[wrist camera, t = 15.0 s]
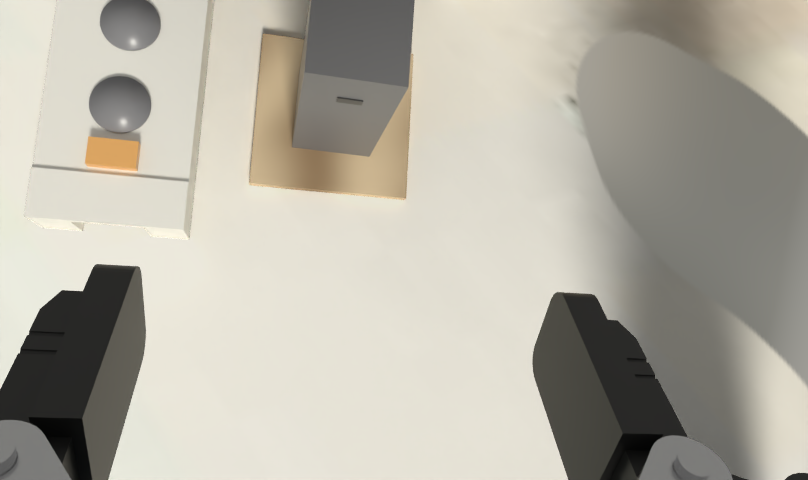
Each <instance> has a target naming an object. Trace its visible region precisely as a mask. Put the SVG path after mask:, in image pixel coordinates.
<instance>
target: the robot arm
mask: <svg viewBox="0 0 808 480" xmlns="http://www.w3.org/2000/svg"><path fill="white" fill-rule="evenodd" d="M145 338H146V327H145V314H144V302H143V289H142V277H141V271H140V268H139V267H137V266H120V265H102V264H96V265H95V266H94V267H93V269H92V271H91V274H90V276H89V278H88V281H87V283H86V285H85V288H84V290H83V291H65V290H62V291H61V292H60V293H58V294H57V295H56V296H55V297H54V298H53V299H51V300H50V301H49V302H48V303H47V304H45V305H44V306H43V307H42V308H41V309H40V310H39V312H38V314H37V316H36V319H35V321H34V323H33V325H32V327H31V329H30V331H29V335H27V337H26V339H25V341H24V343H23V345H22V347H21V351H20V354H18V355H17V357H16V359H15V361H14V363H13V365H12V367H11V369H10V371H9V373H8V375H7V377H6V379H5V381H4V383H3V385H2V387H1V389H0V480H108V478H109V475H110V471H111V468H112V464H113V461H114V457H115V454H116V450H117V447H118V443H119V440H120V436H121V433H122V430H123V426H124V423H125V419H126V416H127V412H128V409H129V405H130V402H131V398H132V395H133V391H134V388H135V385H136V381H137V378H138V374H139V371H140V367H141V364H142V360H143V355H144V349H145ZM533 373H534V377H535V381H536V384H537V387H538V390H539V393H540V396H541V399H542V402H543V405H544V408H545V411H546V414H547V417H548V420H549V423H550V426H551V429H552V432H553V435H554V438H555V441H556V444H557V447H558V450H559V453H560V456H561V459H562V462H563V465H564V468H565V471H566V474H567V477H568V480H747V479H744V478H740V477H737V476H735V475H732V474H731V473H730V471H729V469H728V467H727V466H726V464H725V463H724V461H723V460H722V459H721V458H720V457H719V456H718V455H717V454H716V453H715V452H714V451H712V450H711V449H710V448H708V447H707V446H705V445H704V444H702V443H700V442H698V441H696V440H693V439H691V438H688V437H687V435H686V433H685V431H684V429H683V427H682V425H681V424H680V422H679V420H678V418H677V416H676V414H675V412H674V410H673V408H672V406H671V404H670V402H669V401H668V399H667V397H666V395H665V393H664V391H663V389H662V387H661V385H660V383H659V381H658V380H657V379H655V374H654V372H653V370H652V368H651V366H650V364H649V363H647V362H646V357H645V355H644V353H643V351H642V349H641V347H640V345H639V343H638V341H637V339H636V338H635V337H634V336H633V335H632V334H631V333H630V332H629V331H628V330H627V329H626V328H625V327H623V326H622V325H621V324H620V323H619V322H618V321H616V320H607V318H606V316H605V314H604V312H603V310H602V307H601V305H600V303H599V301H598V299H597V298H596V297H595V296H594V295H592V294H579V293H562V292H557V293H555V294H554V295H553V297H552V299H551V301H550V304H549V307H548V310H547V313H546V316H545V318H544V321H543V324H542V327H541V330H540V333H539V335H538V338H537V341H536V344H535V347H534V352H533ZM785 480H808V474H807V473H797V474H792V475H790V476H788V477H787V478H786V479H785Z"/></svg>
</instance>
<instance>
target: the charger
mask: <svg viewBox="0 0 808 480" xmlns="http://www.w3.org/2000/svg"><path fill="white" fill-rule="evenodd" d="M413 14H414V0H310V3H309V10H308V17H307V23H306V30H305V37H304V44H303V50H302V57H301V64H300V71H299V79H298V90H297V100H296V110H295V120H294V131H293V141H292V147H294V148H302V149H310V150H318V151H326V152H334V153H343V154H351V155H359V156H367V157H369V156H370V155H371V153H372V151H373V149H374V148H375V146H376V144H377V142H378V140H379V139H380V137H381V135H382V133H383V132H384V130H385V128H386V126H387V125H388V123H389V121H390V119H391V117H392V116H393V114H394V112H395V110H396V109H397V107H398V105H399V103H400V102H401V100H402V98H403V96H404V94H405V93H406V91H407V89H408V87H409V73H410V58H411V44H412V29H413Z"/></svg>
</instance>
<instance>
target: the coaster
mask: <svg viewBox="0 0 808 480" xmlns="http://www.w3.org/2000/svg"><path fill="white" fill-rule="evenodd" d="M303 44H304V39H300V38H292V37H285V36H278V35H270V34H263V38H262V49H261V60H260V71H259V82H258V94H257V105H256V116H255V127H254V138H253V149H252V160H251V171H250V183H249V184H250V185H254V186H265V187H275V188H286V189H296V190H307V191H317V192H328V193H338V194H349V195H359V196H370V197H380V198H391V199H401V200H405V199H406V189H407V169H408V149H409V129H410V109H411V89H412V69H413V54H411V58H410V73H409V87H408V89H407V91H406V93H405V94H404V96H403V98H402V100H401V102H400V103H399V105H398V107H397V109H396V110H395V112H394V114H393V116H392V117H391V119H390V121H389V123H388V125H387V126H386V128H385V130H384V132H383V133H382V135H381V137H380V139H379V140H378V142H377V144H376V146H375V148H374V149H373V151H372V153H371V155H370V156H369V157H367V156H359V155H351V154H343V153H334V152H326V151H318V150H310V149H302V148H294V147H292V141H293V131H294V120H295V110H296V100H297V90H298V79H299V71H300V64H301V57H302V50H303Z"/></svg>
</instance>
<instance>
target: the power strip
mask: <svg viewBox="0 0 808 480" xmlns="http://www.w3.org/2000/svg"><path fill="white" fill-rule="evenodd" d="M213 6H214V0H56V7H55V14H54V21H53V28H52V34H51V41H50V48H49V55H48V62H47V69H46V76H45V83H44V89H43V96H42V103H41V110H40V117H39V124H38V131H37V137H36V144H35V151H34V158H33V165H32V167H31V169H30V176H29V183H28V190H27V196H26V203H25V210H24V217H25V218H27V219H29V220H30V221H32V222H34V223H35V224H37V225H39V226H40V227H42V228H48V229H61V230H74V231H83V228H84V223H92V224H104V225H117V226H129V227H141V228H144V229H145V230H146V231H147V232H148V233H149V235H150V236H151V237H162V238H174V239H187V240H189V238H190V228H191V218H192V209H193V199H194V189H195V180H196V170H197V161H198V151H199V141H200V132H201V122H202V112H203V103H204V93H205V83H206V74H207V64H208V54H209V45H210V35H211V25H212V16H213Z"/></svg>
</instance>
